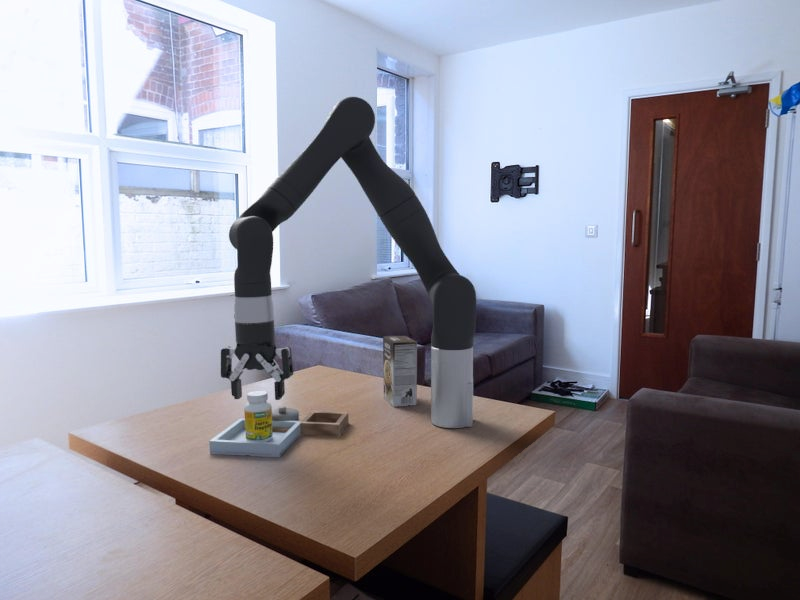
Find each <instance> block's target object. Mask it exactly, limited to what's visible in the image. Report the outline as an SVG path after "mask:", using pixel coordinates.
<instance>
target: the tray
mask: <svg viewBox="0 0 800 600" xmlns="http://www.w3.org/2000/svg"><path fill="white" fill-rule="evenodd" d="M300 422H301V421H287V420H285V421H273V420H272V427H276V428H290V429H289V430H288V431H287V432H273V437H272V439H271V440H270V441H268V442H257V441H246V432H245V418H239V419H237V420H236V421H234V422H233V423H232V424H230V425H229V426H227V427H226V428H225V429H224V430H223V431H221V432H220V433H219V434H217V435H216V436H215V437H213V438H211V439H210V440H209V454H210V455H211V454H212V455H226V456H229V455H231V456H245V455H250V456H249V457H267V458H270V457H271V458H281V456H282V455H284V453H286V451H287V450H288V449H289V448H290V447H291V446H292V444H294V443H295V441H297V439H298V438H299V437H301V423H300Z"/></svg>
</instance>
